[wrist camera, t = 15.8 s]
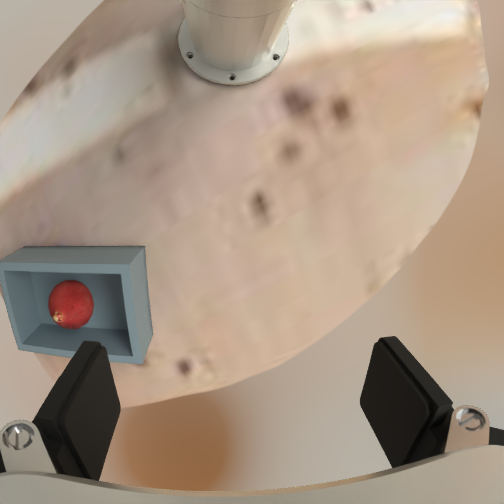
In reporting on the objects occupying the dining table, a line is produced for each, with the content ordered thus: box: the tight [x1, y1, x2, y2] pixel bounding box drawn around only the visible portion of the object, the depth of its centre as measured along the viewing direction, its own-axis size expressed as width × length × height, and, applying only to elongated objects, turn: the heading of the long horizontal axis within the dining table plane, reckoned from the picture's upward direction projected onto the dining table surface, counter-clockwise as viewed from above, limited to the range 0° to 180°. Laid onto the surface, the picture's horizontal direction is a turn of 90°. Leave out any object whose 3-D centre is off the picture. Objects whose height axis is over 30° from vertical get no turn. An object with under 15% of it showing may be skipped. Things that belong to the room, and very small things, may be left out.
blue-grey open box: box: [0, 246, 153, 364], centre depth 35 cm, size 12×18×7 cm, turn 88°
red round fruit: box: [48, 280, 94, 329], centre depth 33 cm, size 6×6×8 cm
